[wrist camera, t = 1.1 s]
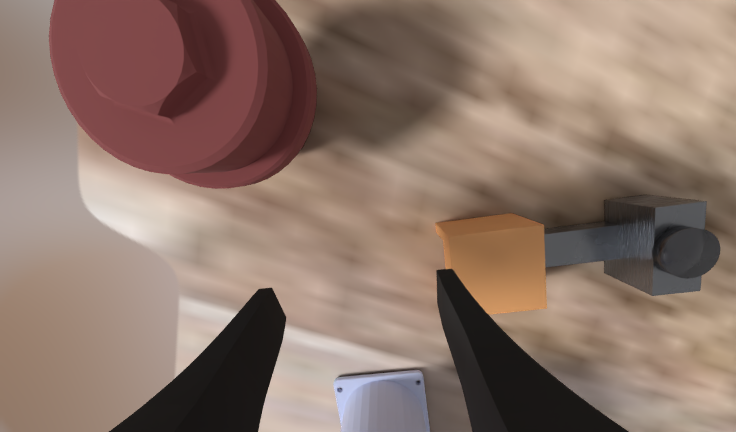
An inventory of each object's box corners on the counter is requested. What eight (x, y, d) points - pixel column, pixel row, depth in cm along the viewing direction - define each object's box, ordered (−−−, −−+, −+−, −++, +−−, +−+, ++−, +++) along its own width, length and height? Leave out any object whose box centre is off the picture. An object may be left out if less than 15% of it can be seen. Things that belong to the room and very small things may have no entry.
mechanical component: (272, 12, 20) (363, 120, 21) (182, 110, 21) (272, 205, 23) (106, -223, 8) (342, 58, 9) (-73, 37, 9) (147, 252, 10)
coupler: (644, 268, 22) (716, 296, 17) (521, 282, 23) (559, 312, 18) (647, 194, 21) (724, 202, 16) (518, 211, 22) (556, 223, 17)
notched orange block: (515, 281, 23) (546, 308, 19) (442, 289, 23) (456, 317, 19) (511, 212, 22) (544, 224, 18) (435, 222, 22) (448, 236, 18)
